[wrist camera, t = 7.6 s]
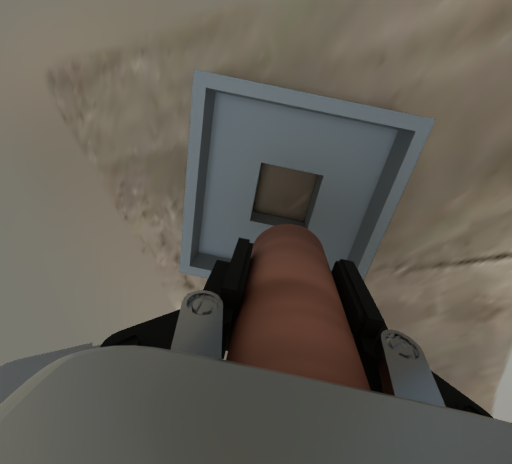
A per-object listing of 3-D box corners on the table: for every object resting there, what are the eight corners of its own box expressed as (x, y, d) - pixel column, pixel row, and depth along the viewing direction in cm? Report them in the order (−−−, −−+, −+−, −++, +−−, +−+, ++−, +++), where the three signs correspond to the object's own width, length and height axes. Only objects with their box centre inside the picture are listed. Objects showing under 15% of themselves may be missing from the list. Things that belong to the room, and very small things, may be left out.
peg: (312, 294, 14) (367, 590, 5) (244, 280, 14) (184, 550, 5) (334, 232, 13) (467, 510, 4) (257, 216, 13) (202, 453, 4)
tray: (338, 275, 31) (350, 308, 26) (197, 245, 31) (179, 272, 26) (399, 120, 24) (435, 119, 18) (213, 81, 24) (194, 69, 18)
